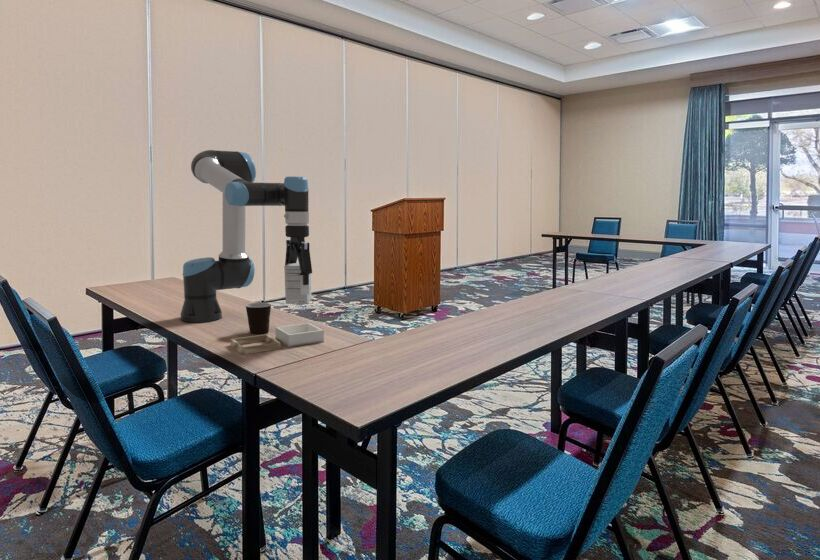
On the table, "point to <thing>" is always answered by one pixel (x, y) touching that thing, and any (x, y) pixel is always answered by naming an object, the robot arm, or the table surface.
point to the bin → (299, 334)
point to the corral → (257, 348)
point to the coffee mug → (258, 317)
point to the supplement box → (295, 285)
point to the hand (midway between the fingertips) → (298, 292)
